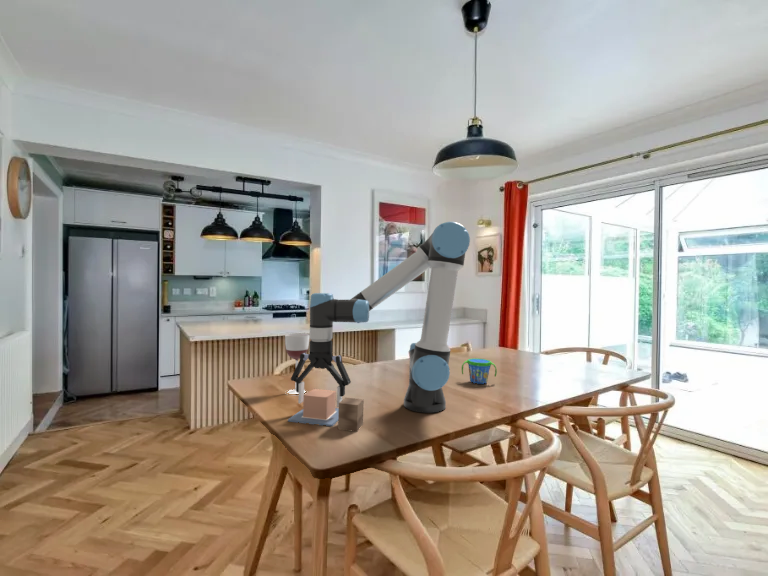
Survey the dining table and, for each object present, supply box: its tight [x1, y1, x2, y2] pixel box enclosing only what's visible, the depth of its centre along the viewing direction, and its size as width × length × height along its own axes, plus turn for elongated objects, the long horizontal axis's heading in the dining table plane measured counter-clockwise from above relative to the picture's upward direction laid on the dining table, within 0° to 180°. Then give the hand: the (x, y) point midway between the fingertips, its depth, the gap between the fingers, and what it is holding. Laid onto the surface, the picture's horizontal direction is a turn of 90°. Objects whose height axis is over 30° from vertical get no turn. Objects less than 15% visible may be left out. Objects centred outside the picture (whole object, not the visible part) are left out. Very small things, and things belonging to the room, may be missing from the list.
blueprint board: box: [287, 407, 339, 427], centre depth 127 cm, size 15×15×1 cm
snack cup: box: [461, 357, 498, 385], centre depth 176 cm, size 16×10×10 cm
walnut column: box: [337, 397, 364, 432], centre depth 118 cm, size 6×6×8 cm
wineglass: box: [284, 332, 310, 394], centre depth 154 cm, size 9×10×23 cm
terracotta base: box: [302, 388, 337, 419], centre depth 127 cm, size 8×8×7 cm
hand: (320, 404), depth 127 cm, fingers open, 13 cm apart
